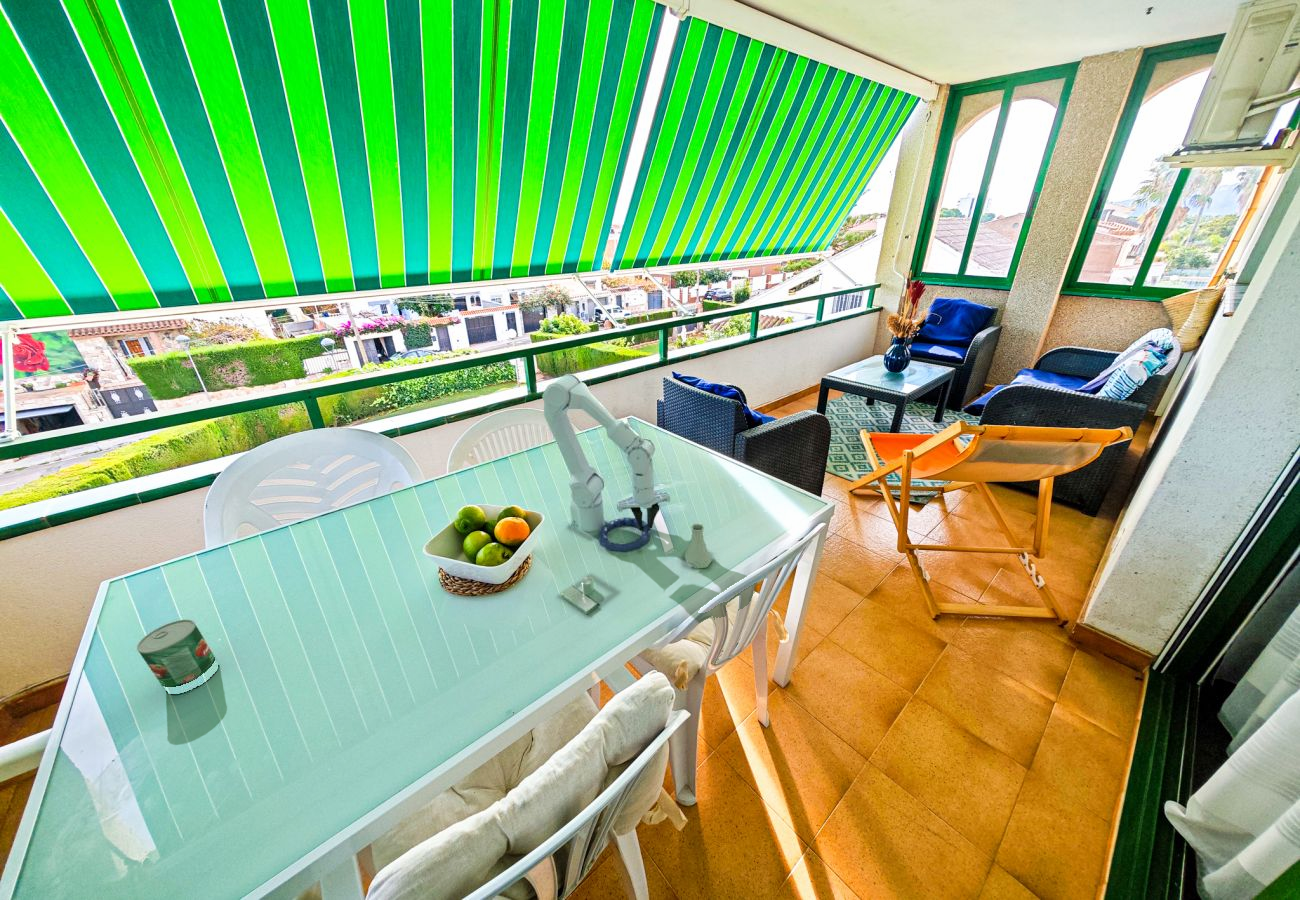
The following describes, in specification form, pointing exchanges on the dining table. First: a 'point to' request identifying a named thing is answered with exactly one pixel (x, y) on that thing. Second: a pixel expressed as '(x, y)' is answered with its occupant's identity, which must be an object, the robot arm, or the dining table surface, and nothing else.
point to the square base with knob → (581, 596)
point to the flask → (697, 548)
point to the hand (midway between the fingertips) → (645, 527)
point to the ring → (627, 546)
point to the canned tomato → (176, 653)
